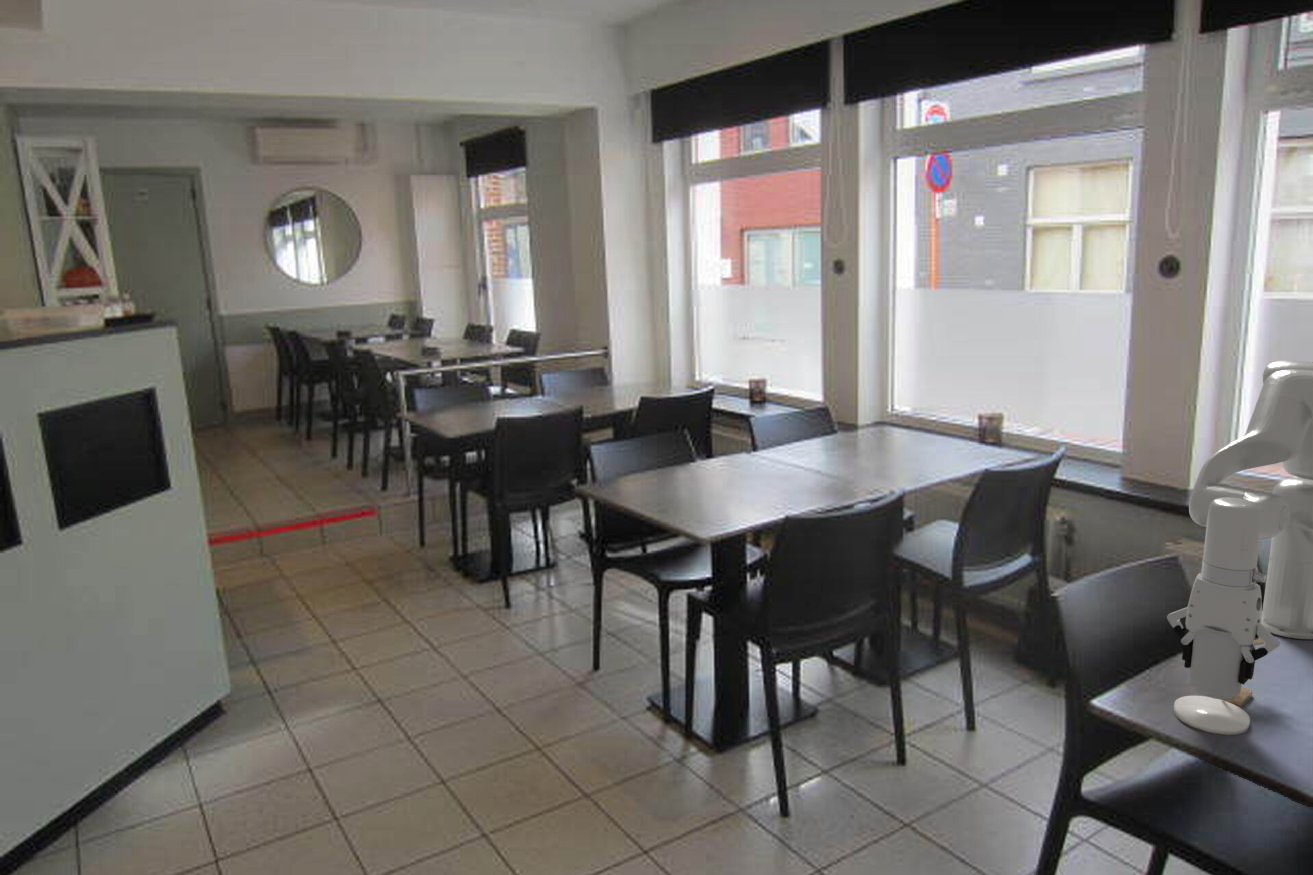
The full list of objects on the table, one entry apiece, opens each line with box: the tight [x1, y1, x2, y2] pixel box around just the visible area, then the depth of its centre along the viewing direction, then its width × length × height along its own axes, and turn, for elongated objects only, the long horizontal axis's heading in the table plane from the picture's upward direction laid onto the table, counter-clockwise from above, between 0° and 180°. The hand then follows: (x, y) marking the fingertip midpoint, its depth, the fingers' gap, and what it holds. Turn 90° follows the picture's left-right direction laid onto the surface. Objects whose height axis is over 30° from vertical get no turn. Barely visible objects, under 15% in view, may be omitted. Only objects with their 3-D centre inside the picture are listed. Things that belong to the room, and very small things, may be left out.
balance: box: [1220, 637, 1265, 708], centre depth 162 cm, size 14×6×14 cm, turn 133°
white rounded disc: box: [1173, 695, 1251, 736], centre depth 156 cm, size 11×11×1 cm
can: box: [1188, 626, 1244, 699], centre depth 154 cm, size 8×8×12 cm
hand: (1216, 672), depth 154 cm, fingers closed on can, 7 cm apart
